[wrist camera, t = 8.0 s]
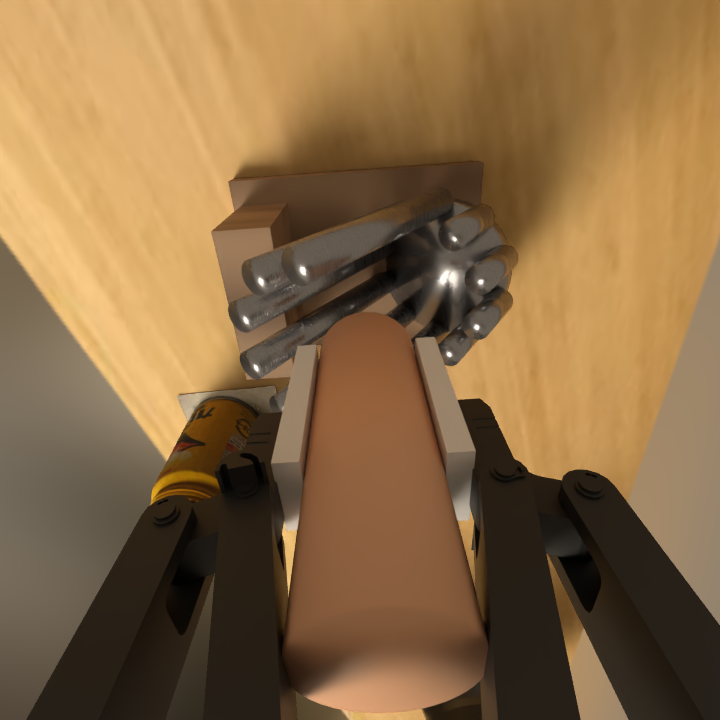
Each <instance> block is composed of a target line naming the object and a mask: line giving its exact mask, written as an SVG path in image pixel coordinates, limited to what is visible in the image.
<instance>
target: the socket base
mask: <svg viewBox="0 0 720 720" xmlns="http://www.w3.org/2000/svg"><path fill="white" fill-rule="evenodd" d="M482 176H483V162H480V161H469V162H456V163H443V164H429V165H416V166H402V167H389V168H375V169H362V170H348V171H335V172H321V173H308V174H294V175H281V176H268V177H254V178H241V179H232V180H230V181H229V187H230V192H231V197H232V202H233V206H234V211H235V212H234V213H232V214H231V215H230V216H229V217H228V218H227V219H225V220H224V221H223V222H222V223H221V224H220V225H218V226H217V227H216V228H215V229H214V230H213V231H211V232H212V237H213V241H214V245H215V249H216V253H217V258H218V262H219V266H220V270H221V274H222V279H223V283H224V287H225V291H226V295H227V300H228V304H230V303H231V302H232V301H234V300H237V299H239V298H241V297H243V296H245V295H247V294H250V293H252V292H251V291H250V290H249V288H248V287H247V286H246V284H245V282H244V280H243V277H242V265H243V263H244V261H246V260H247V259H250V258H253V257H255V256H258V255H260V254H263V253H266V252H268V251H271V250H273V249H276V248H279V247H281V246H284V245H286V244H289V243H292V242H294V241H297V240H299V239H302V238H305V237H307V236H310V235H312V234H315V233H318V232H320V231H323V230H325V229H328V228H331V227H333V226H336V225H338V224H341V223H344V222H346V221H349V220H351V219H354V218H357V217H359V216H362V215H364V214H367V213H370V212H372V211H375V210H377V209H380V208H383V207H385V206H388V205H390V204H393V203H396V202H398V201H401V200H408V199H411V198H413V197H416V196H418V195H421V194H423V193H426V192H428V191H431V190H434V189H436V188H440V187H442V188H446V189H448V190H449V191H450V192H451V194H452V196H453V198H454V199H460V200H464V201H467V202H469V203H472V204H474V205H478V204H481V190H482ZM383 271H386V258H384V259H382V260H380V261H378V262H377V263H375V264H373V265H371V266H369V267H367V268H366V269H364V270H362V271H360V272H358V273H356V274H355V275H353V276H351V277H349V278H347V279H345V280H344V281H342V282H340V283H338V284H336V285H334V286H333V287H331V288H329V289H327V290H325V291H323V292H322V293H320V294H318V295H316V296H314V297H312V298H311V299H309V300H307V301H305V302H303V303H301V304H300V305H298V306H296V307H294V308H292V309H290V310H289V311H287V312H285V313H283V314H281V315H280V316H278V317H276V318H274V319H272V320H270V321H269V322H267V323H265V324H263V325H261V326H259V327H258V328H256V329H254V330H252V331H250V332H248V333H244V332H242V331H240V330H238V329H237V328H236V327H235V325H234V324H233V325H234V329H235V333H236V337H237V342H238V346H239V350H240V354H241V353H242V352H244V351H245V350H247V349H249V348H250V347H252V346H254V345H256V344H257V343H259V342H261V341H262V340H264V339H266V338H268V337H269V336H271V335H273V334H274V333H276V332H278V331H280V330H281V329H283V328H285V327H286V326H288V325H290V324H292V323H293V322H295V321H297V320H299V319H300V318H302V317H304V316H305V315H307V314H309V313H311V312H312V311H314V310H316V309H317V308H319V307H321V306H323V305H324V304H326V303H328V302H329V301H331V300H333V299H335V298H336V297H338V296H340V295H341V294H343V293H345V292H347V291H348V290H350V289H352V288H354V287H355V286H357V285H359V284H360V283H362V282H364V281H366V280H367V279H369V278H371V277H372V276H374V275H376V274H378V273H380V272H383ZM396 306H397V303H396V302H395V300H394V299H393V297H392V295H391V294H390V293H389V294H387V295H386V296H384V297H383V298H381V299H380V300H378V301H377V302H375V303H374V304H372V305H371V306H369V307H368V308H366V309H365V310H363V311H362V312H374V313H379V314H383V315H385V314H386V313H388V312H389V311H391V310H392V309H393V308H395V307H396ZM360 313H361V312H360ZM424 327H425V326H423V325H421V324H419V323H417V322H416V321H413V322H412V323H411V324H410V325H408V326H407V327H406V328H405V330H406V331H407V333H408V334H409V336H410V339H411V338H412V337H413V336H415V335H416V334H417V333H418V332H419V331H420V330H421V329H423V328H424ZM449 333H450V332H448V334H449ZM324 337H325V336H324ZM324 337H323V338H321V339H320V340H318V341H317V342H315V343H314V344H312V345H322V341H323V339H324ZM294 360H295V356H294V357H293V358H291V359H290V360H288V361H287V362H285V363H284V364H282V365H281V366H279V367H278V368H276V369H275V370H273V371H272V372H270V373H269V374H267V375H266V376H264V377H263V378H261V379H266V378H281V377H291V373H292V368H293V364H294ZM245 375H246V379H247V380H250V379H253V378H251V377H250V376H249V375H248V374H247V373H246V372H245Z"/></svg>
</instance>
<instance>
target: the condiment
mask: <svg viewBox="0 0 720 720" xmlns="http://www.w3.org/2000/svg"><path fill="white" fill-rule="evenodd" d="M276 393H277V392H276V388H275V386H267V387H256V388H248V389H239V390H237V389H236V390H223V391H213V392H204V393H195V394H185V395H179V396H177V398H178V400H179V403H180V405H181V407H182V410H183V412H184V414H185V417H186V419H187V424H186V426H185V428H184V430H183V432H182V433H181V436H180V438H179V439H178V441H177V443H176V446H175V447H174V449H173V451H172V453H171V455H170V457H169V459H168V461H167V463H166V464H165V466H164V468H163V470H162V472H161V473H160V475H159V477H158V479H157V481H156V484H155V485H154V487H153V490H152V502H151V503H150V505H151V504H153V503H154V502H155V501H157V500H159V499H161V498H164V497H166V496H171V495H182V496H185V497H187V498H188V499H189V500H190V502H191V504H192V503H195V502H199V501H202V500H205V499H208V498H211V497H213V496H216V495H218V494H219V493H221V491H220V487H219V484H218V481H217V478H216V475H215V472H214V471H215V469H216V466H217V464H218V463H219V462H220V461H221V460H222V459H223V458H224V457H226V456H227V455H229V454H231V453H234V452H237V451H240V450H244V447H245V445H246V441H247V438H248V436H249V432H250V428H251V425H252V423H253V422H254V421H255V420H256V418H257V417H258V416H259V415H260V414H261V413H273V412H272V410H271V408H270V404H269V400H270V398H271V397H272V396H273V395H275V394H276ZM252 405H254V406H255V407H253V406H252ZM256 407H259V408H260V409H258V408H256Z"/></svg>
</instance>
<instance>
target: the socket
mask: <svg viewBox="0 0 720 720" xmlns="http://www.w3.org/2000/svg"><path fill="white" fill-rule="evenodd" d="M384 258H386V271H383V272H380V273H378V274H376V275H374V276H372V277H371V278H369V279H367V280H366V281H364V282H362V283H360V284H359V285H357V286H355V287H354V288H352V289H350V290H348V291H347V292H345V293H343V294H341V295H340V296H338V297H336V298H335V299H333V300H331V301H329V302H328V303H326V304H324V305H323V306H321V307H319V308H317V309H316V310H314V311H312V312H311V313H309V314H307V315H305V316H304V317H302V318H300V319H299V320H297V321H295V322H293V323H292V324H290V325H288V326H286V327H285V328H283V329H281V330H280V331H278V332H276V333H274V334H273V335H271V336H269V337H268V338H266V339H264V340H262V341H261V342H259V343H257V344H256V345H254V346H252V347H250V348H249V349H247V350H245V351H244V352H242V353H241V355H240V362H241V365H242V367H243V369H244V371H245V372H246V373H247V374H248V375H249V376H250V377H251V378H253V379H256V380H259V379H261V378H263V377H264V376H266V375H267V374H269V373H270V372H272V371H273V370H275V369H276V368H278V367H279V366H281V365H282V364H284V363H285V362H287V361H288V360H290V359H291V358H293V357H294V356H295V355H296V351H297V346H304V345H312V344H314V343H315V342H317V341H318V340H320V339H321V338H323V337H324V336H325V335H326V333H327V332H328V330H329V329H330V328H331V327H332V326H333V325H334V324H335V323H336V322H338V321H339V320H341V319H343V318H344V317H346V316H349V315H352V314H356V313H360V312H362V311H363V310H365V309H366V308H368V307H369V306H371V305H372V304H374V303H375V302H377V301H378V300H380V299H381V298H383V297H384V296H386V295H387V294H389V293H390V294H391V295H392V297H393V299H394V300H395V302H396V303H397V306H396V307H395V308H393V309H392V310H391V311H389V312H388V313H386V314H385V315H386V316H389V317H391V318H392V319H394V320H396V321H397V322H398V323H400V324H401V325H402V326H403V327H404V329H405V328H406V327H407V326H408V325H410V324H411V323H412V322H413V321H416V322H417V323H419V324H421V325H423V326H425V327H424V328H423V329H421V330H420V331H419V332H418V333H417V334H416V335H415V336H413V337H412V338H411V341H412V345H413V349H414V353H415V338H424V337H435V340H436V342H437V345H438V348H439V351H440V353H441V356H442V359H443V362H444V364H445V365H447V366H454V365H456V364H457V363H458V362H459V361H460V360H461V359H462V358H463V357H464V356H465V354H466V353H467V352H468V351H469V350H470V349H471V348H472V346H473V345H474V344H475V343H476V342H477V341H478V340H480V339H483V338H485V337H486V336H487V335H488V334H489V333H490V332H491V331H492V330H493V328H494V327H495V326H496V325H497V324H498V323H499V321H500V320H501V319H502V318H503V317H504V316H505V314H506V313H507V312H508V311H509V310H510V309H511V307H512V305H513V298H512V296H511V294H510V293H509V292H508V288H509V285H510V281H511V275H512V269H513V268H514V267H515V266H516V265H517V263H518V254H517V252H516V250H515V249H514V248H513V247H512V246H510V245H508V242H507V240H506V237H505V235H504V234H503V232H502V230H501V228H500V227H499V226H498V224H497V223H496V222H495V215H494V212H493V210H492V209H491V208H490V207H489V206H487V205H485V204H478V205H474V204H472V203H469V202H467V201H464V200H460V199H454V198H453V196H452V194H451V192H450V191H449V190H448V189H446V188H442V187H440V188H436V189H434V190H431V191H428V192H426V193H423V194H421V195H418V196H416V197H413V198H411V199H408V200H401V201H398V202H396V203H393V204H390V205H388V206H385V207H383V208H380V209H377V210H375V211H372V212H370V213H367V214H364V215H362V216H359V217H357V218H354V219H351V220H349V221H346V222H344V223H341V224H338V225H336V226H333V227H331V228H328V229H325V230H323V231H320V232H318V233H315V234H312V235H310V236H307V237H305V238H302V239H299V240H297V241H294V242H292V243H289V244H286V245H284V246H281V247H279V248H276V249H273V250H271V251H268V252H266V253H263V254H260V255H258V256H255V257H253V258H250V259H247V260H246V261H244V263H243V265H242V277H243V280H244V282H245V284H246V286H247V287H248V288H249V290H250V291H251V292H252V293H250V294H247V295H245V296H243V297H241V298H239V299H237V300H234V301H232V302H231V303H230V304H229V307H228V312H229V316H230V319H231V321H232V323H233V324H234V325H235V327H236V328H237V329H238V330H240V331H242V332H244V333H248V332H250V331H252V330H254V329H256V328H258V327H259V326H261V325H263V324H265V323H267V322H269V321H270V320H272V319H274V318H276V317H278V316H280V315H281V314H283V313H285V312H287V311H289V310H290V309H292V308H294V307H296V306H298V305H300V304H301V303H303V302H305V301H307V300H309V299H311V298H312V297H314V296H316V295H318V294H320V293H322V292H323V291H325V290H327V289H329V288H331V287H333V286H334V285H336V284H338V283H340V282H342V281H344V280H345V279H347V278H349V277H351V276H353V275H355V274H356V273H358V272H360V271H362V270H364V269H366V268H367V267H369V266H371V265H373V264H375V263H377V262H378V261H380V260H382V259H384ZM448 332H450V333H449V334H448ZM288 386H289V384H288V385H287V386H286V387H284V388H283V389H281V390H280V391H279V392H277V393H276V394H275V395H273V396H272V397H271V398H270V400H269V404H270V408H271V410H272V412H273V413H275V412H283V408H284V403H285V399H286V395H287V390H288Z"/></svg>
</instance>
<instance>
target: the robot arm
mask: <svg viewBox="0 0 720 720" xmlns="http://www.w3.org/2000/svg"><path fill="white" fill-rule="evenodd" d="M415 357H416V361H417V365H418V368H419V372H420V376H421V380H422V384H423V388H424V392H425V396H426V400H427V404H428V408H429V411H430V415H431V419H432V423H433V427H434V431H435V435H436V439H437V443H438V447H439V451H440V454H441V458H442V462H443V466H444V470H445V474H446V478H447V482H448V486H449V490H450V493H451V497H452V501H453V505H454V509H455V513H456V517H457V521H463V520H469V518H470V509H471V512H472V515H473V519H474V530H473V540H472V549H471V550H474V560H475V581H476V595H477V599H478V603H479V607H480V611H481V615H482V619H483V622H484V626H485V630H486V634H487V638H488V644H489V646H488V652H487V658H486V664H485V670H484V676H483V678H482V679H481V680H480V681H479V682H478V683H477V684H476V685H475V686H474V687H472V688H471V689H469V690H468V691H466V692H465V693H463V694H461V695H459V696H457V697H455V698H453V699H451V700H448V701H446V702H443V703H440V704H437V705H434V706H430V707H427V708H422V710H423V713H424V715H425V718H426V720H580V715H579V711H578V705H577V700H576V695H575V691H574V686H573V681H572V676H571V671H570V666H569V662H568V657H567V652H566V647H565V642H564V637H563V633H562V628H561V623H560V618H559V613H558V608H557V604H556V599H555V594H554V589H553V584H552V579H551V574H550V570H549V565H548V560H547V555H546V553H547V554H548V555H549V557H550V559H551V561H552V563H553V565H554V567H555V569H556V571H557V573H558V576H559V578H560V580H561V582H562V584H563V586H564V588H565V590H566V592H567V594H568V596H569V598H570V600H571V602H572V604H573V606H574V608H575V610H576V613H577V615H578V617H579V619H580V621H581V623H582V625H583V627H584V629H585V631H586V633H587V635H588V637H589V639H590V641H591V643H592V645H593V647H594V649H595V652H596V654H597V656H598V658H599V660H600V662H601V664H602V666H603V668H604V670H605V672H606V674H607V676H608V678H609V680H610V682H611V684H612V686H613V689H614V690H615V693H616V695H617V697H618V699H619V701H620V703H621V705H622V707H623V709H624V711H625V713H626V715H627V717H628V719H629V720H720V625H719V624H718V623H717V621H716V620H715V618H714V617H713V616H712V614H711V613H710V612H709V611H708V609H707V608H706V606H705V605H704V604H703V602H702V601H701V600H700V599H699V597H698V596H697V595H696V593H695V592H694V591H693V589H692V588H691V587H690V585H689V584H688V583H687V581H686V580H685V579H684V577H683V576H682V575H681V573H680V572H679V571H678V569H677V568H676V567H675V565H674V564H673V563H672V562H671V560H670V559H669V557H668V556H667V555H666V553H665V552H664V551H663V549H662V548H661V547H660V545H659V544H658V543H657V541H656V540H655V539H654V537H653V536H652V535H651V533H650V532H649V531H648V529H647V528H646V527H645V526H644V524H643V523H642V521H641V520H640V519H639V517H638V516H637V515H636V513H635V512H634V511H633V509H632V508H631V507H630V506H629V504H628V503H627V501H626V500H625V499H624V497H623V496H622V495H621V494H620V492H619V491H618V490H617V488H616V487H615V486H614V485H613V484H612V483H611V482H610V481H609V480H608V479H607V478H605V477H604V476H602V475H600V474H598V473H595V472H592V471H589V470H573V471H569V472H568V473H566V474H565V475H564V476H563V479H562V480H556V479H551V478H545V477H541V476H537V475H534V474H532V473H530V472H528V470H527V468H526V467H525V466H524V465H523V464H522V463H521V462H519V461H517V460H515V459H514V458H513V456H512V453H511V451H510V449H509V447H508V445H507V443H506V440H505V438H504V436H503V434H502V432H501V430H500V428H499V425H498V423H497V421H496V420H495V417H494V414H493V412H492V410H491V408H490V407H489V406H488V405H487V404H486V403H485V402H483V401H482V400H481V399H465V400H457V398H456V395H455V392H454V389H453V387H452V384H451V381H450V378H449V375H448V373H447V370H446V367H445V364H444V362H443V359H442V356H441V353H440V351H439V348H438V345H437V342H436V340H435V337H424V338H415ZM318 367H319V360H318V352H317V345H304V346H297V351H296V355H295V360H294V364H293V368H292V373H291V377H290V381H289V386H288V390H287V395H286V399H285V403H284V408H283V412H275V413H261V414H260V415H259V416H258V417H257V418H256V420H255V421H254V422H253V423H252V425H251V428H250V432H249V436H248V438H247V441H246V445H245V447H244V450H240V451H237V452H234V453H231V454H229V455H227V456H226V457H224V458H223V459H222V460H221V461H220V462H219V463H218V464H217V466H216V469H215V471H214V472H215V475H216V478H217V481H218V484H219V487H220V491H221V493H219V494H218V495H216V496H213V497H211V498H208V499H205V500H202V501H199V502H195V503H192V504H191V502H190V500H189V499H188V498H187V497H185V496H182V495H171V496H166V497H164V498H161V499H159V500H157V501H155V502H154V503H153V504H151V505H150V506H149V507H148V508H147V509H146V510H145V511H144V513H143V514H142V515H141V517H140V519H139V521H138V523H137V524H136V526H135V528H134V530H133V531H132V533H131V535H130V537H129V539H128V540H127V542H126V544H125V546H124V547H123V549H122V551H121V553H120V554H119V556H118V558H117V560H116V562H115V563H114V565H113V567H112V569H111V570H110V572H109V574H108V576H107V578H106V579H105V581H104V583H103V585H102V586H101V588H100V590H99V592H98V593H97V595H96V597H95V599H94V601H93V603H92V604H91V606H90V608H89V610H88V611H87V613H86V615H85V617H84V618H83V620H82V622H81V624H80V625H79V627H78V629H77V631H76V633H75V634H74V636H73V638H72V640H71V641H70V643H69V645H68V647H67V649H66V650H65V652H64V654H63V656H62V657H61V659H60V661H59V663H58V665H57V666H56V668H55V670H54V672H53V673H52V675H51V677H50V679H49V680H48V682H47V684H46V686H45V687H44V690H43V691H42V693H41V695H40V696H39V698H38V700H37V702H36V703H35V705H34V707H33V709H32V711H31V712H30V714H29V716H28V718H27V720H165V719H166V716H167V713H168V710H169V707H170V704H171V701H172V698H173V695H174V692H175V689H176V686H177V683H178V680H179V677H180V674H181V671H182V669H183V666H184V663H185V660H186V657H187V654H188V650H189V648H190V645H191V642H192V639H193V636H194V633H195V630H196V627H197V624H198V621H199V618H200V615H201V612H202V609H203V606H204V603H205V600H206V597H207V594H208V591H209V588H210V585H211V582H212V579H213V576H214V573H215V580H214V592H213V604H212V616H211V628H210V640H209V653H208V665H207V678H206V690H205V702H204V715H203V720H297V707H296V692H295V690H294V689H293V688H292V687H291V684H290V681H289V677H288V674H287V671H286V668H285V665H284V661H283V658H282V644H283V636H284V628H285V621H286V613H287V605H288V586H287V573H286V559H285V546H284V540H283V536H282V529H283V523H284V522H285V527H286V531H290V530H297V528H298V521H299V513H300V505H301V497H302V490H303V482H304V474H305V467H306V459H307V451H308V444H309V436H310V428H311V420H312V413H313V405H314V397H315V390H316V382H317V374H318Z"/></svg>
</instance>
